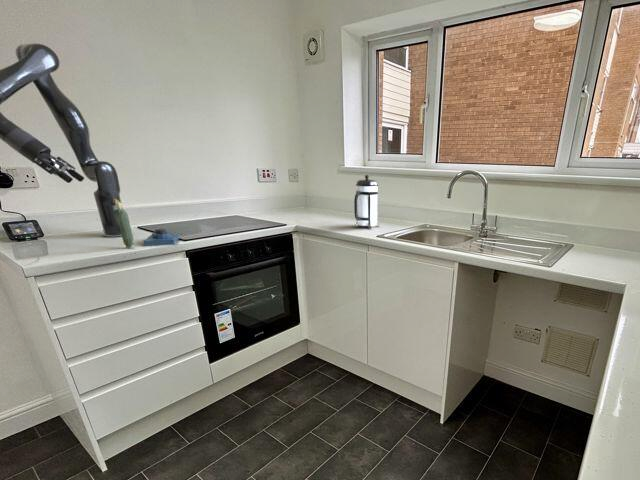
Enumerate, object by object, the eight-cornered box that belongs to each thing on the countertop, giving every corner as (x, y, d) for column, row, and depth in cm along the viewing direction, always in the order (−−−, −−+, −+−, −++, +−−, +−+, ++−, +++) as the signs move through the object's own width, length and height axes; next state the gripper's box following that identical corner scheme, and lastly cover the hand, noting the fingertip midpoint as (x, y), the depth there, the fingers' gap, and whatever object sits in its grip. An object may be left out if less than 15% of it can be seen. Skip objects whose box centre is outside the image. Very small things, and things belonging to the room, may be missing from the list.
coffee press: (351, 225, 217) (350, 173, 206) (376, 224, 220) (377, 174, 210) (354, 230, 201) (354, 175, 190) (382, 229, 205) (382, 175, 194)
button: (157, 233, 158) (155, 228, 157) (167, 233, 159) (166, 228, 158) (155, 235, 154) (154, 230, 153) (165, 234, 156) (164, 230, 155)
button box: (151, 239, 162) (150, 230, 160) (179, 238, 166) (177, 229, 164) (145, 245, 150) (142, 236, 148) (174, 244, 154) (172, 235, 153)
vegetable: (138, 248, 146) (126, 198, 139) (128, 250, 142) (114, 199, 135) (131, 247, 147) (118, 198, 140) (120, 249, 143) (107, 198, 136)
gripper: (21, 137, 118) (73, 174, 126) (46, 139, 130) (92, 172, 138) (7, 153, 118) (60, 189, 126) (33, 153, 131) (80, 186, 138)
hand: (77, 180), depth 132 cm, fingers open, 8 cm apart
